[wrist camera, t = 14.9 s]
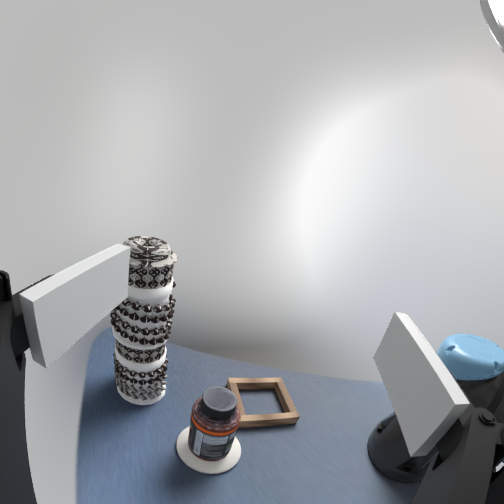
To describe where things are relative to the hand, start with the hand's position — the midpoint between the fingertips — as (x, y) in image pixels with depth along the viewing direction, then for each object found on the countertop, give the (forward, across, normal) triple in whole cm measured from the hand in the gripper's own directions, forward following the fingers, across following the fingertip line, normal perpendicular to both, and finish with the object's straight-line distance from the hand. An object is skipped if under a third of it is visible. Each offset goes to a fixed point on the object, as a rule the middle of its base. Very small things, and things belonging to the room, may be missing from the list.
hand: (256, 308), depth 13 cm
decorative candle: (+19, -14, -30) cm, 39 cm away
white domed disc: (+11, -1, -30) cm, 32 cm away
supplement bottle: (+11, -1, -30) cm, 32 cm away
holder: (+23, +5, -30) cm, 38 cm away
